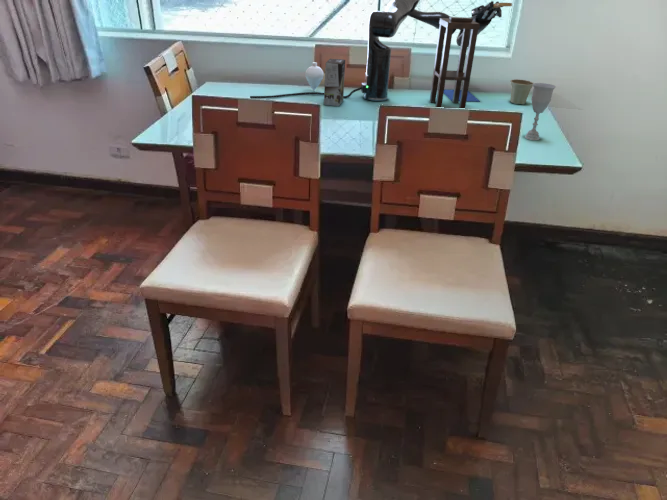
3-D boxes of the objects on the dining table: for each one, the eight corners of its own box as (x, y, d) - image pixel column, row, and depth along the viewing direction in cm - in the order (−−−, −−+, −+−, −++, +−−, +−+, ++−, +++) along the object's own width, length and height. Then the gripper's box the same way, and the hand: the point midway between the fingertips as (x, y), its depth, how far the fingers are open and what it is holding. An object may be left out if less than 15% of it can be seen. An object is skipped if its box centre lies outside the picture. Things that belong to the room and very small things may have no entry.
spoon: (482, 8, 227) (484, -6, 224) (495, 8, 227) (498, -5, 225) (497, 17, 212) (500, 2, 209) (511, 17, 212) (514, 3, 210)
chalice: (538, 135, 197) (551, 83, 188) (545, 141, 191) (559, 88, 182) (518, 134, 196) (529, 82, 187) (525, 140, 191) (537, 87, 182)
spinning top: (302, 93, 231) (303, 63, 225) (307, 89, 238) (308, 59, 232) (320, 95, 230) (321, 65, 224) (325, 90, 237) (326, 61, 231)
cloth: (451, 101, 232) (451, 100, 232) (441, 90, 247) (441, 89, 247) (479, 101, 233) (479, 101, 233) (467, 90, 248) (467, 90, 248)
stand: (435, 109, 220) (448, 19, 203) (428, 101, 230) (440, 14, 213) (465, 110, 221) (480, 20, 204) (457, 101, 231) (470, 15, 215)
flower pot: (529, 101, 237) (533, 80, 233) (529, 106, 230) (534, 85, 225) (506, 98, 239) (510, 78, 235) (506, 104, 232) (510, 83, 227)
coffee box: (339, 106, 217) (341, 63, 208) (323, 105, 217) (324, 62, 209) (343, 100, 224) (346, 59, 216) (328, 99, 225) (329, 57, 217)
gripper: (494, 30, 239) (512, 13, 221) (463, 29, 237) (478, 12, 220) (494, 13, 239) (511, -6, 221) (463, 11, 237) (478, -7, 220)
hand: (495, 3), depth 221 cm, fingers closed on spoon, 1 cm apart
